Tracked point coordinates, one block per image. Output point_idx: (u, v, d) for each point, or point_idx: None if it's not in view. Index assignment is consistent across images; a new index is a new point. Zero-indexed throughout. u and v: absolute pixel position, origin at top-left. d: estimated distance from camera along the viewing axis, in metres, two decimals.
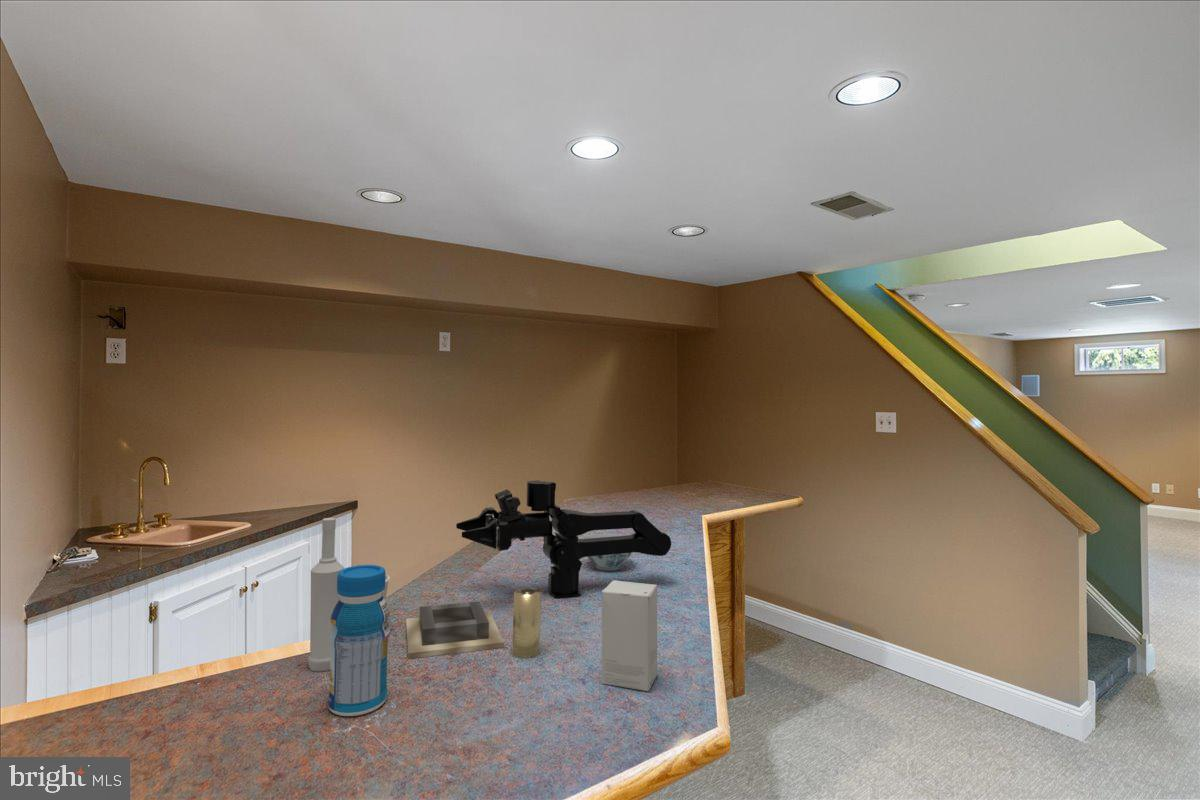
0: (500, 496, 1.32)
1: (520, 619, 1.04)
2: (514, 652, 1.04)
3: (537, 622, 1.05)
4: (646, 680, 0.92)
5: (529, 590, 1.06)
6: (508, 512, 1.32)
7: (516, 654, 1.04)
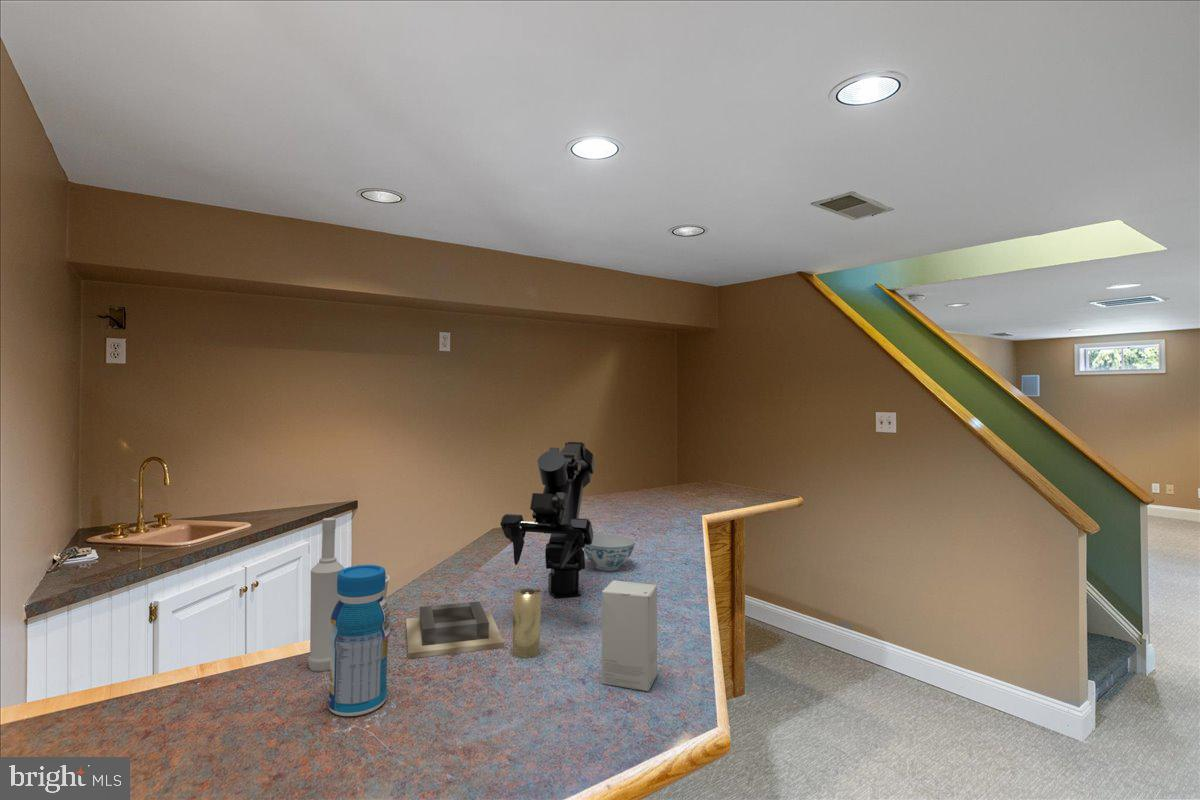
0: (550, 506, 1.14)
1: (520, 619, 1.04)
2: (514, 652, 1.04)
3: (537, 622, 1.05)
4: (646, 680, 0.92)
5: (529, 590, 1.06)
6: (558, 510, 1.18)
7: (516, 654, 1.04)
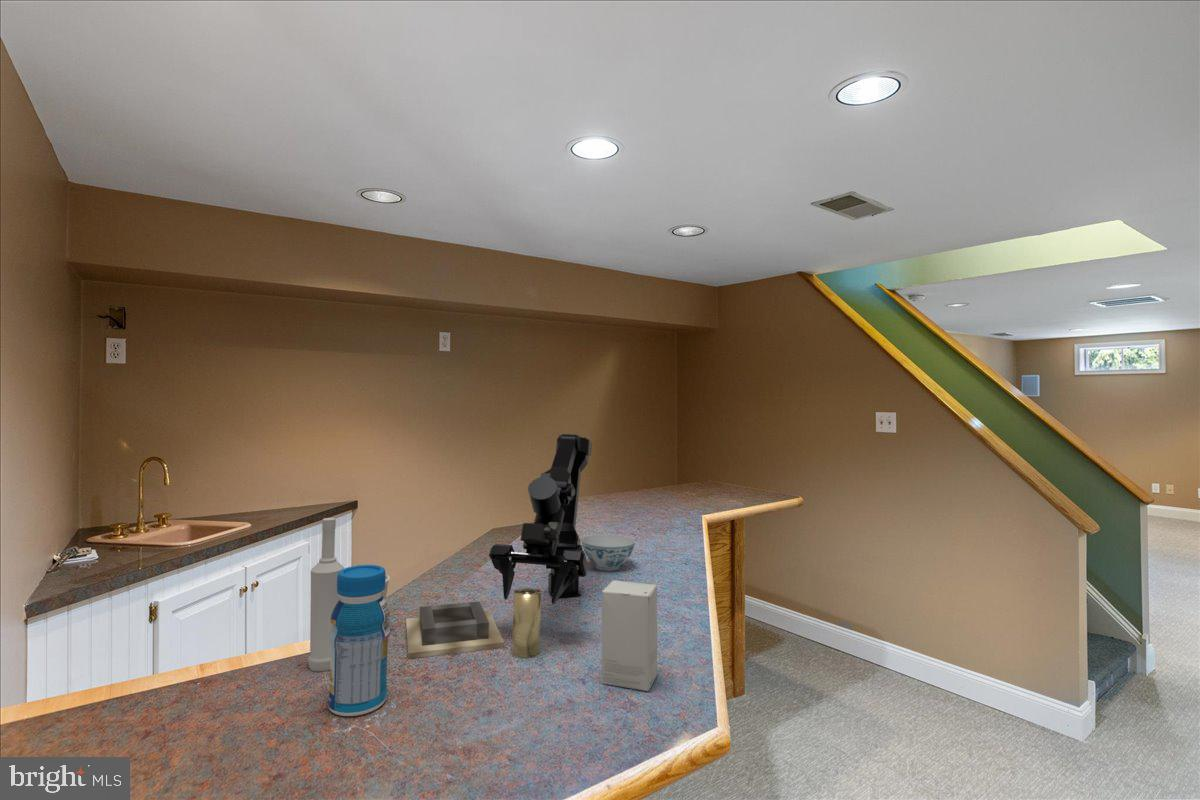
0: (542, 537, 1.08)
1: (520, 619, 1.04)
2: (514, 652, 1.04)
3: (537, 622, 1.05)
4: (646, 680, 0.92)
5: (529, 590, 1.06)
6: (550, 540, 1.11)
7: (516, 654, 1.04)
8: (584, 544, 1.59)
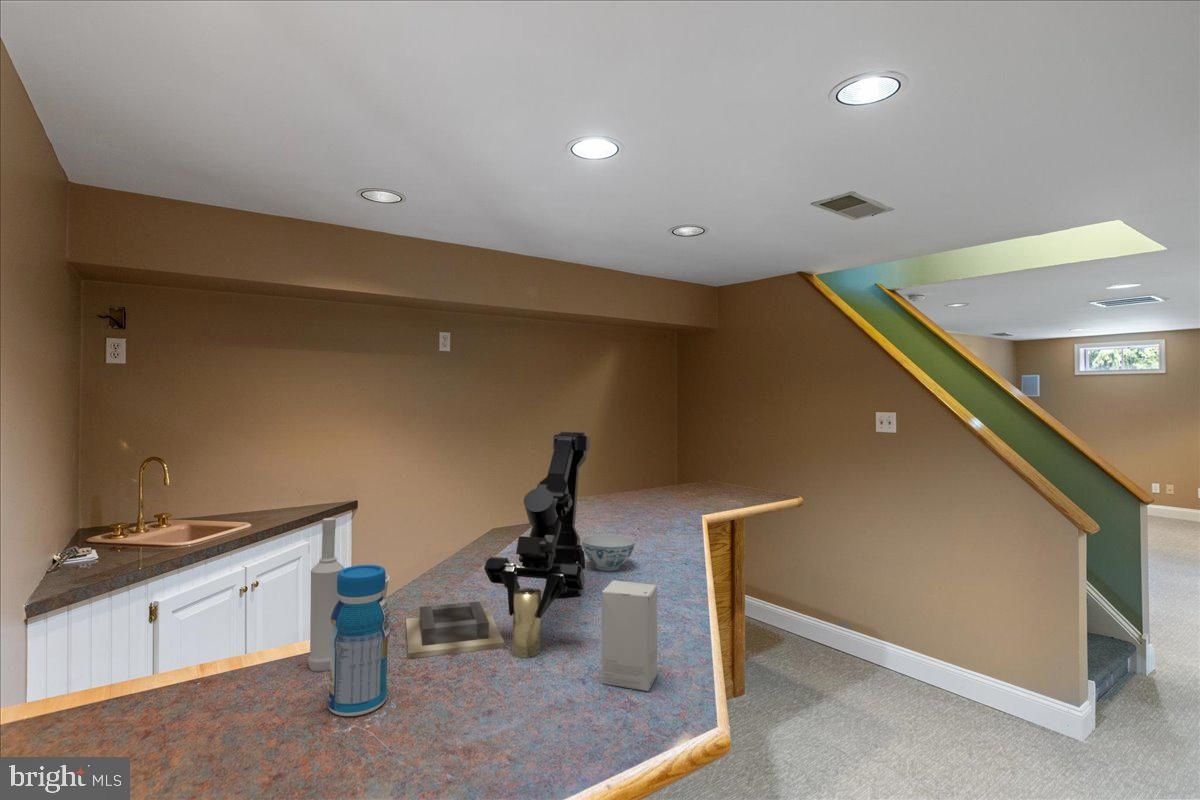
0: (538, 551, 1.05)
1: (520, 619, 1.04)
2: (514, 652, 1.04)
3: (537, 622, 1.05)
4: (646, 680, 0.92)
5: (529, 590, 1.06)
6: (547, 553, 1.09)
7: (516, 654, 1.04)
8: (584, 544, 1.59)
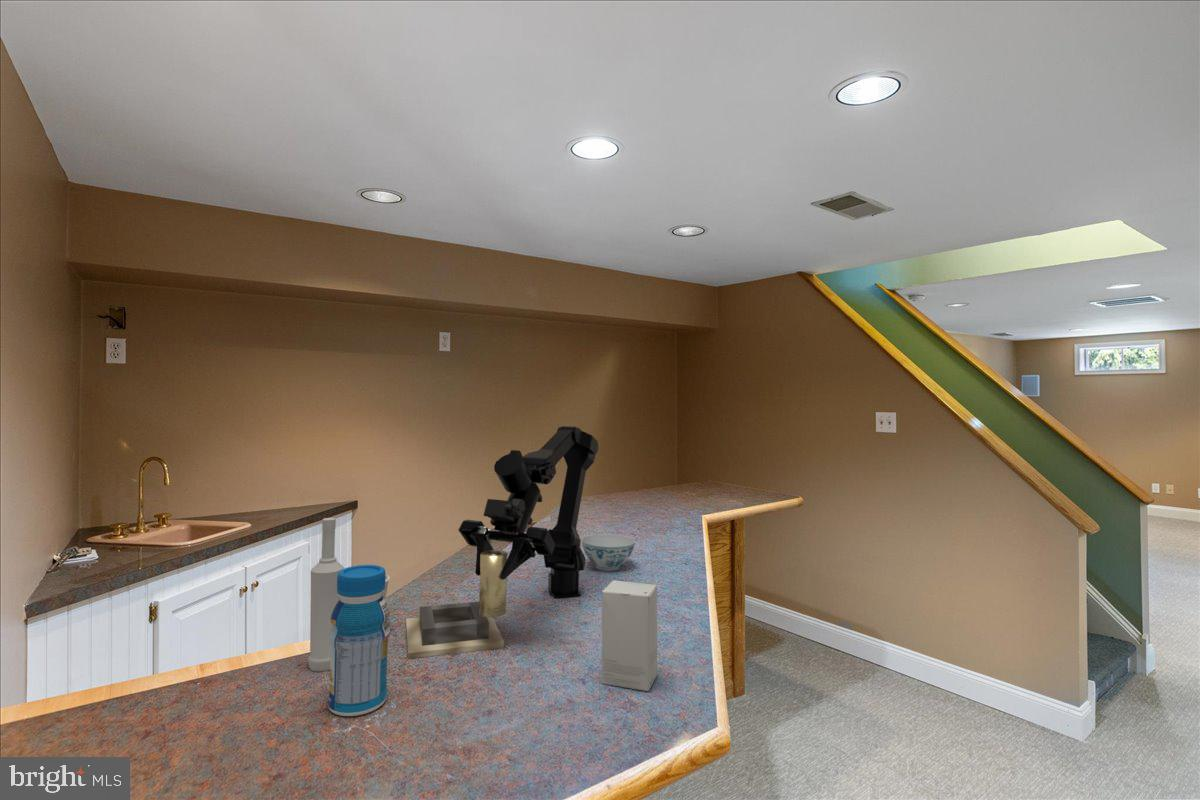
0: (503, 513, 1.07)
1: (484, 579, 1.06)
2: (479, 612, 1.06)
3: (501, 583, 1.06)
4: (646, 680, 0.92)
5: (496, 552, 1.08)
6: (515, 517, 1.10)
7: (481, 613, 1.06)
8: (584, 544, 1.59)
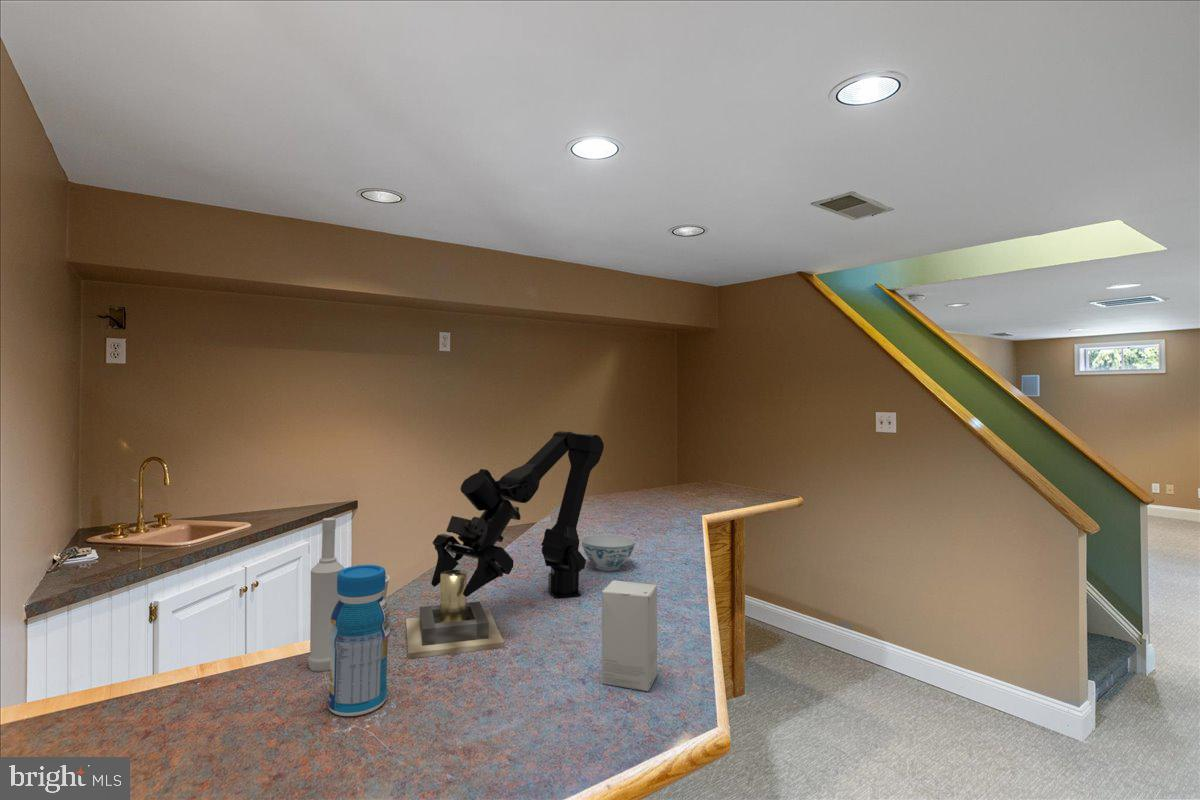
0: (460, 531, 1.11)
1: (441, 597, 1.11)
2: None
3: (457, 603, 1.11)
4: (646, 680, 0.92)
5: (456, 572, 1.13)
6: (477, 535, 1.14)
7: None
8: (584, 544, 1.59)
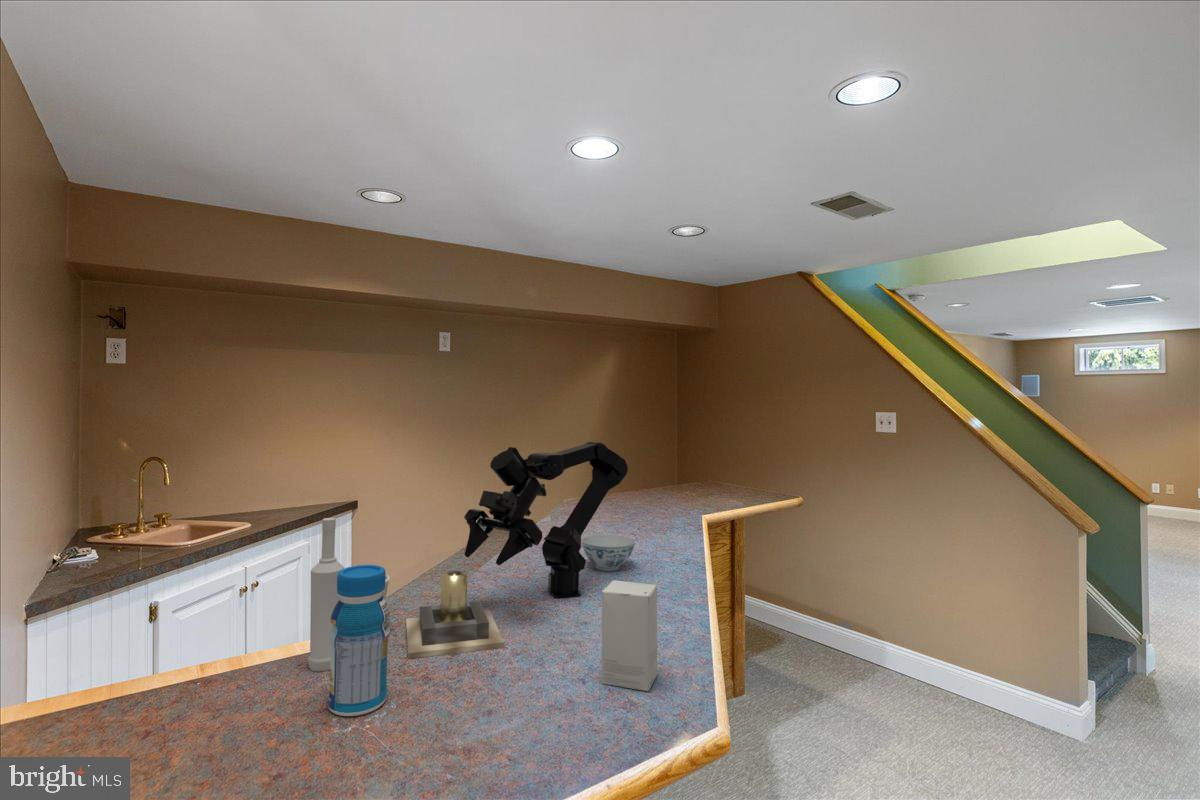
0: (492, 504, 1.18)
1: (442, 597, 1.11)
2: None
3: (457, 603, 1.11)
4: (646, 680, 0.92)
5: (457, 572, 1.13)
6: (508, 508, 1.21)
7: None
8: (584, 544, 1.59)
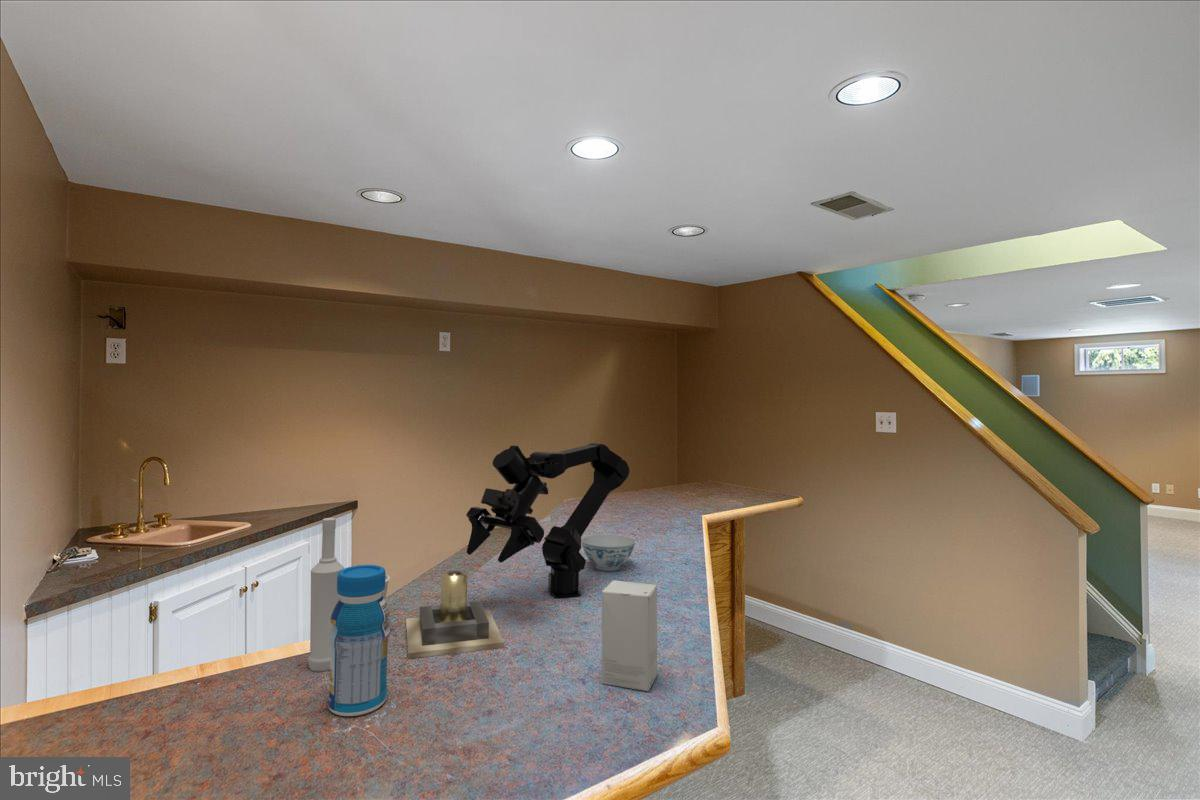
0: (495, 501, 1.19)
1: (442, 597, 1.11)
2: None
3: (457, 603, 1.11)
4: (646, 680, 0.92)
5: (457, 572, 1.13)
6: (510, 506, 1.22)
7: None
8: (584, 544, 1.59)
